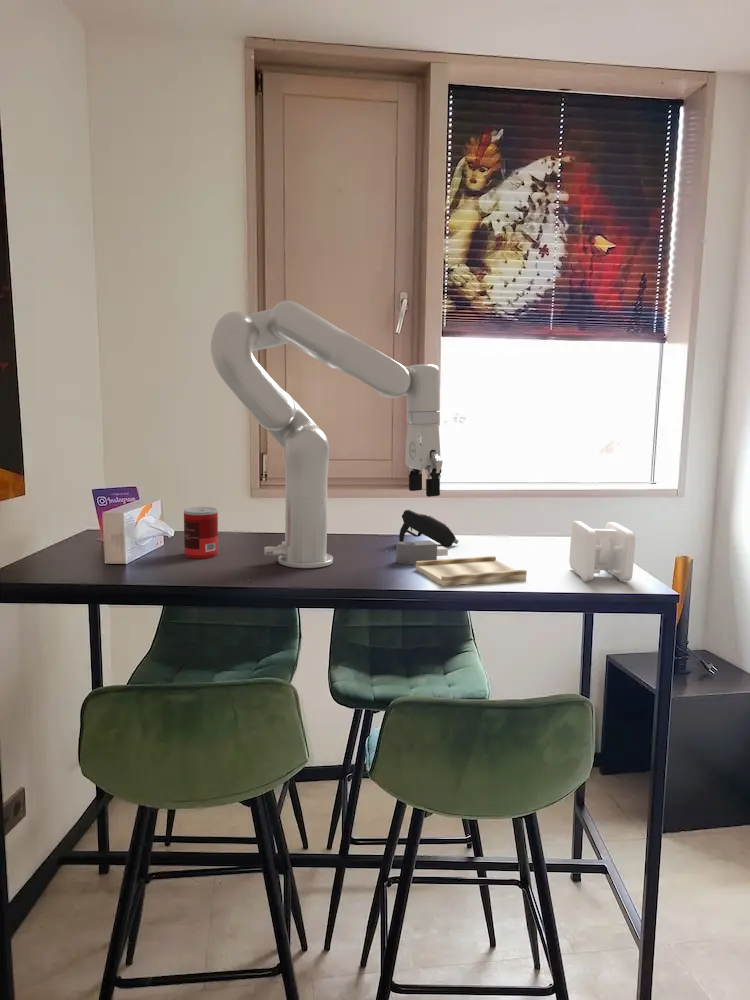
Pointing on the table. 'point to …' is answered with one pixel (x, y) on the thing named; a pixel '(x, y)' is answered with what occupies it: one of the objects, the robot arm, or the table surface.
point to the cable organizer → (602, 550)
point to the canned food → (200, 532)
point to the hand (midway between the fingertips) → (424, 493)
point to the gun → (426, 528)
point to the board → (469, 571)
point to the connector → (418, 551)
